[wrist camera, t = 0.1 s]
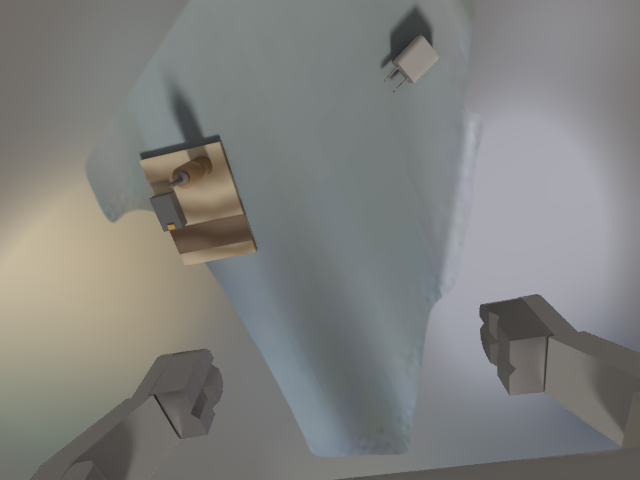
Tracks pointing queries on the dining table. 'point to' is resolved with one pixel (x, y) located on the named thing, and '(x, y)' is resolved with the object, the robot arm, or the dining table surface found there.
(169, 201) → the block
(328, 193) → the dining table surface
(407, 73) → the usb wall charger
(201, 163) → the awl
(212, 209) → the subfloor panel
